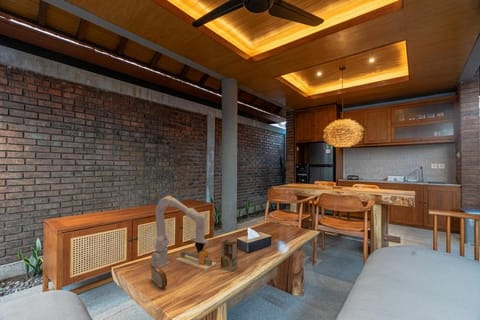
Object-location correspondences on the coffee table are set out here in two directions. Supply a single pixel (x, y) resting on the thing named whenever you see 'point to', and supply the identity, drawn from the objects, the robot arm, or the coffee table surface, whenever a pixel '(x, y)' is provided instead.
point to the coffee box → (229, 255)
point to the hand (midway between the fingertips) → (199, 253)
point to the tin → (159, 277)
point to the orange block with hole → (203, 254)
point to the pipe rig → (195, 260)
